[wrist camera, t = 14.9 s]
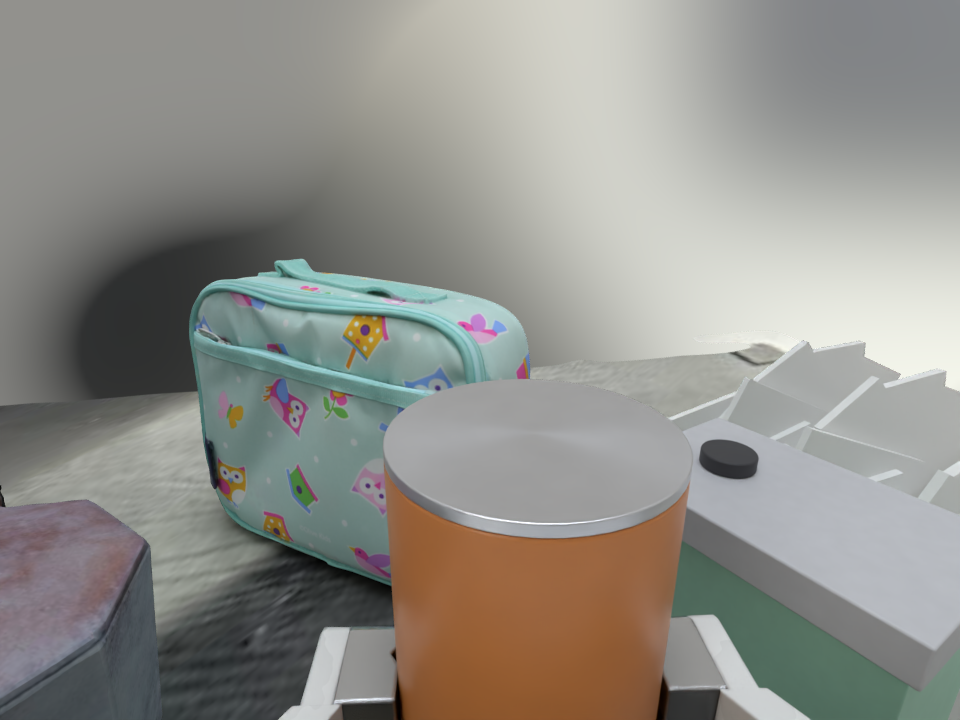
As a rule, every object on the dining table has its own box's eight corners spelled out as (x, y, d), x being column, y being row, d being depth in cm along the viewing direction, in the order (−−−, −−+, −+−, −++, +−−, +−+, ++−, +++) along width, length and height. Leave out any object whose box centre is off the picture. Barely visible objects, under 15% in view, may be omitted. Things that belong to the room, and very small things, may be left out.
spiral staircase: (773, 558, 48) (1164, 907, 24) (603, 500, 43) (891, 870, 19) (889, 368, 45) (1470, 563, 21) (720, 282, 40) (1236, 411, 16)
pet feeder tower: (796, 1045, 19) (943, 630, 13) (579, 774, 27) (607, 446, 21) (890, 902, 22) (1039, 526, 16) (674, 702, 31) (720, 404, 25)
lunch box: (190, 521, 46) (138, 264, 39) (284, 465, 55) (255, 245, 48) (473, 642, 35) (471, 306, 28) (536, 547, 43) (547, 272, 36)
